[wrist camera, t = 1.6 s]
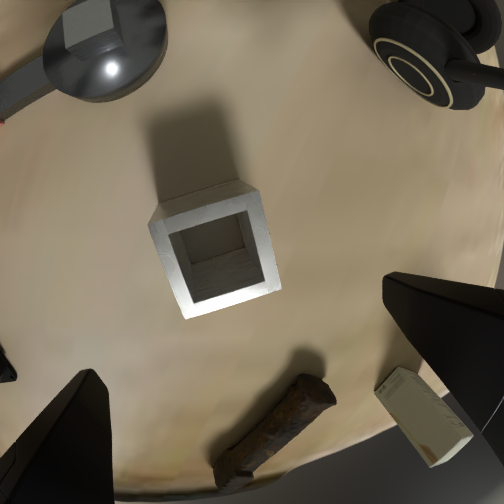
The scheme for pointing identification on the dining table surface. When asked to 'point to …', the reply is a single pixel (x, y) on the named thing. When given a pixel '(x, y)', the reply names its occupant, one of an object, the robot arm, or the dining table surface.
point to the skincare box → (423, 416)
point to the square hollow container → (223, 266)
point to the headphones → (439, 48)
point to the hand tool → (273, 432)
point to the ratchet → (92, 54)
